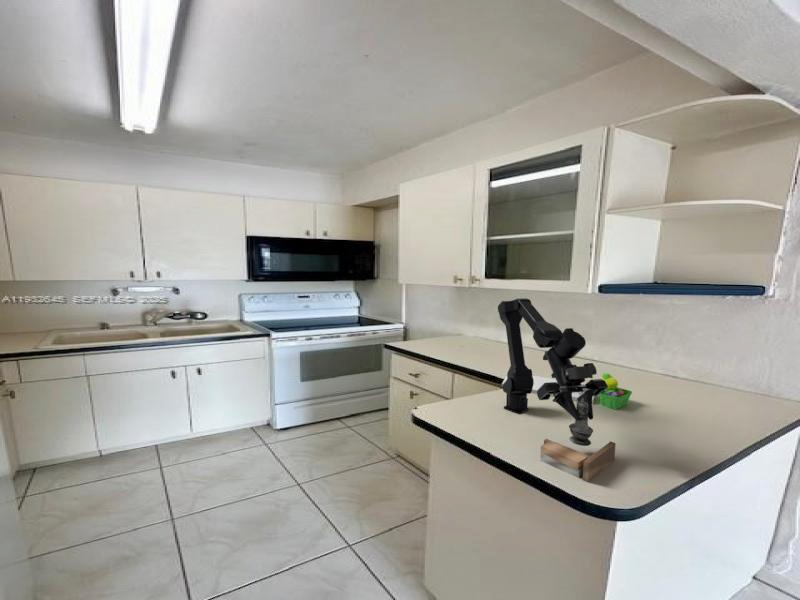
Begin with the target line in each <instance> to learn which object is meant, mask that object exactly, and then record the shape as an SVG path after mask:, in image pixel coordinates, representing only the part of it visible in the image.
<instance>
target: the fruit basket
mask: <svg viewBox="0 0 800 600" xmlns="http://www.w3.org/2000/svg"><path fill="white" fill-rule="evenodd" d="M600 379H602V380H605V382H606V384H607V386H608V388H607V389H605V390H604V391H603V392H601V393H600V394H599V395H598V396H599V401H600V404H601V406H603V407H606V408H609V409H613V410H615V411H616V410H618V409H620V408H621V407H624V406H625V405H628V402H629V400H630V397H631V395H632V394H633V391H631V390H628V389H626V388H622V387H618V385H619V382H618V380H617V379H615V377H613V376H612V375H611V374H610V373H609V372H608V373H607V372H603V374H602V375H601V378H600Z"/></svg>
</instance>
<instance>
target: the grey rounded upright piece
mask: <svg viewBox="0 0 800 600" xmlns="http://www.w3.org/2000/svg"><path fill="white" fill-rule="evenodd" d="M576 402H577V403H576V409H577V411H578V414H579V417H580V420H579V421H577V420H576V419H575V418H574V419H575V420H574V423H570V424H569V425H568V427H569V428H568V429H569V432H570V434H571V435H572V436H570V437H569V438H568V439H569V441H570V442H571V443H573V444H575V445H578V446H582V447H588V446H590V445H591V444H592V441H591V440H590V438H591V436H592V433H594V429H593V428H592V427H591V426H589V424H588V422H589V418H588V417H589V415H588V403H587V402H585V401H584V399H583V398H582V401H576Z"/></svg>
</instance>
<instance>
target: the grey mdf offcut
mask: <svg viewBox="0 0 800 600" xmlns="http://www.w3.org/2000/svg"><path fill="white" fill-rule="evenodd" d="M539 459H540V460H539V461H540V462H542V463H544V464H546V465H549V466H551V467H553V468H555V469H558V470H560V471H561V472H564V473H567V474H569V475H571V476H573V477H576V478H577V479H580V478H581V477H583V468H581V469H579V470H576V469H574V468H572V467H569V466H567V465H565V464H563V463H561V462H559V461H557V460H555V459H552V458H550V457H548V456H546V455H544V454H542V453H541V452H540V458H539Z"/></svg>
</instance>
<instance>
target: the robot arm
mask: <svg viewBox="0 0 800 600" xmlns="http://www.w3.org/2000/svg"><path fill="white" fill-rule="evenodd" d="M497 312H498V314H499V319H500V320H501V322H502V323H503V324H504V326H505V330H506V338H507V345H508V346H507V348H508V355H509V361H510V362H509V363H510V367H509V369H508V370H507V373H506V376H507V380H506V381H505V383H504V384H503V385H502V384H501V386H503V387H502V391H503V392H504V393H505V394H506V403H505V404H506V405H505V406H503V409H505V410H507V411H509V412H513V413H515V414H522V413H524V412H526V411H528V410H529V409H530V408H529V407H528V405H529V404H528V403H529V399H528V395H530V394H532V392H531V391H532V388H533V384H534V380H533V376H534V375H533V371H532V369H531V368H528V367H527V365H526V362H525V353H524V348H523V339H522V331H521V321H522V319H523V320H524V321H525V322H526V324H527V326H528V327H530V329H531V330H532V332H533V334H532V338H533V340H534V342H535V344H536V345H537V347H538V348H540V349H548V350H545V351H544V355H543V357H542V360H543V361H547V362H548V365H549V366H550V368H551V372H552V373H551V374H550V375H551V379H556V381H557V383H556V382H550V383H544V384H543V385H542V386H541V387H540V388H539V389H538V390H537V393H536V396H537V399H538V400H539V401H548V400H550V398H551V396H550V394H553V395H554V398H553V399H552V403H556V404H558V405H559V406H560V407H561V408H563V410H565V411H566V412H567V413H568V414H569V415H570V416H571V417H572V418H573V419H576V420H577V421H579V420H580V417H579V414H578V411H577V409H576V408H577V406H576V405H575V401H574V400H572V393H575V392H578V394H579V397H578V398H577V400H578V401H582V398H583V399H584V401H585V402H587V403H588V415H589V417H588V420H590V421H591V420H593V419H594V411H593V410H594V409H593V404H592V397H593V396H595V397H596V396H599V394H600V393H601V392H603V391H604V390H605V389H607V388H608V386H607V384H606V382H605V380H602V379H601V378H597V379H596V378H595V379H593V378H594V376H595V375H597V373H598V372H597V368H596V366H595V363H593V362H588V363H584V364H583V366H581V365H579V366H578V365H576V364H573V362H572V361H571V359H574V357H576V356H577V354H579V353H580V351H582V350H583V349H584V348H585V347H586V343H587V342H586V339H585V337H583V335H582V334H580V333H579V332H576V331H574V328H573V327H569V328H565V329H564V330H563V331H562V330H561V329H560V328H558V326H556V325H555V324H552V323H550V322H547V320H545V318H544V317H543V316H542V315H541V313H540V312H539V311H538V310H537V309H536V307H534V305H533V304H532V301H531V299H530V298H516V299H513V300H502V301H501V302H500V303H499V304H498V305H497ZM586 379H590V380H589V381H587V382H586ZM585 382H586V383H585ZM583 383H584V384H585V385H581V384H583ZM578 401H577V402H578Z"/></svg>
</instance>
